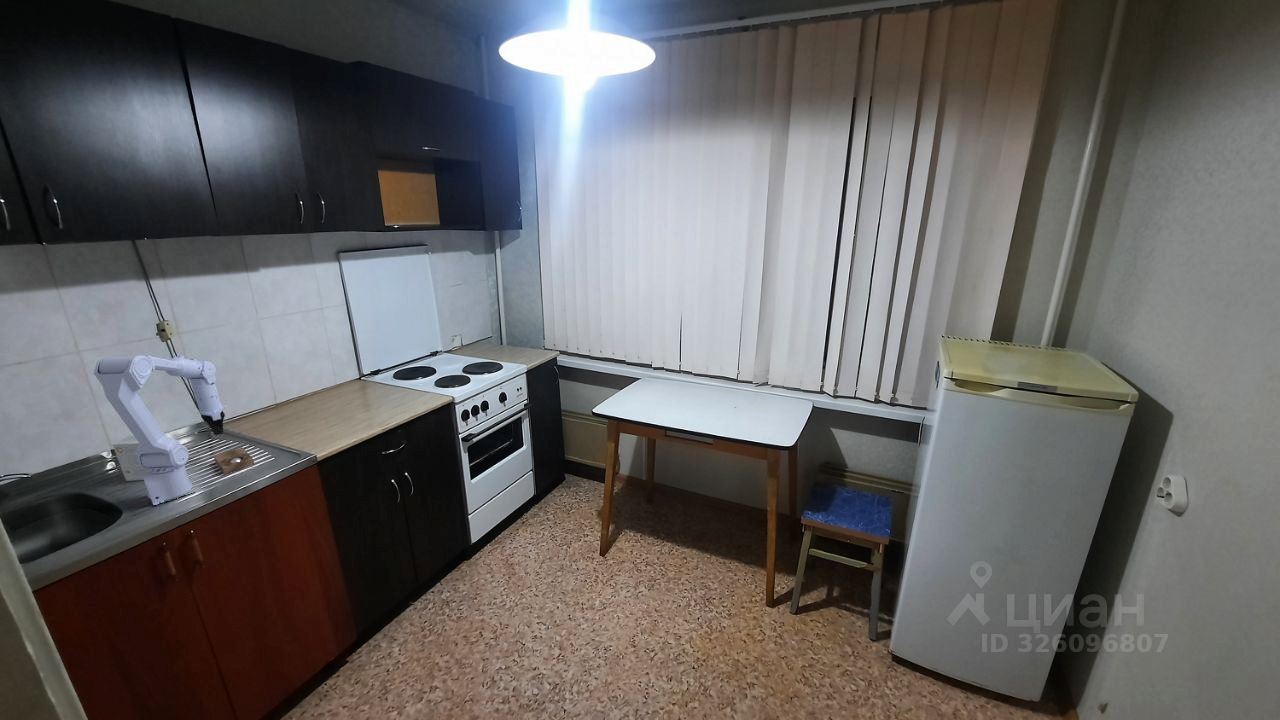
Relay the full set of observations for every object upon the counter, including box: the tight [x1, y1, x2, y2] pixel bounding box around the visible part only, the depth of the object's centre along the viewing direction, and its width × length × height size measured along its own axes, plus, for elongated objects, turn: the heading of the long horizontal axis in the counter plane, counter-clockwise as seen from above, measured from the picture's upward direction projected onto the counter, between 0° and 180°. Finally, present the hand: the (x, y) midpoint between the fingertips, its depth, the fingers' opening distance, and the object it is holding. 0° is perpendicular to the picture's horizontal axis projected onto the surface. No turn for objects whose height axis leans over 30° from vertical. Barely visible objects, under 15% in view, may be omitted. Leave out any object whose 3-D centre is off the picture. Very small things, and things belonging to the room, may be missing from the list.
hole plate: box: [213, 446, 255, 476], centre depth 166 cm, size 8×13×2 cm, turn 50°
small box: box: [111, 435, 149, 482], centre depth 158 cm, size 8×6×13 cm
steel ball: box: [230, 458, 241, 463], centre depth 164 cm, size 3×3×3 cm
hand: (218, 433), depth 167 cm, fingers closed
